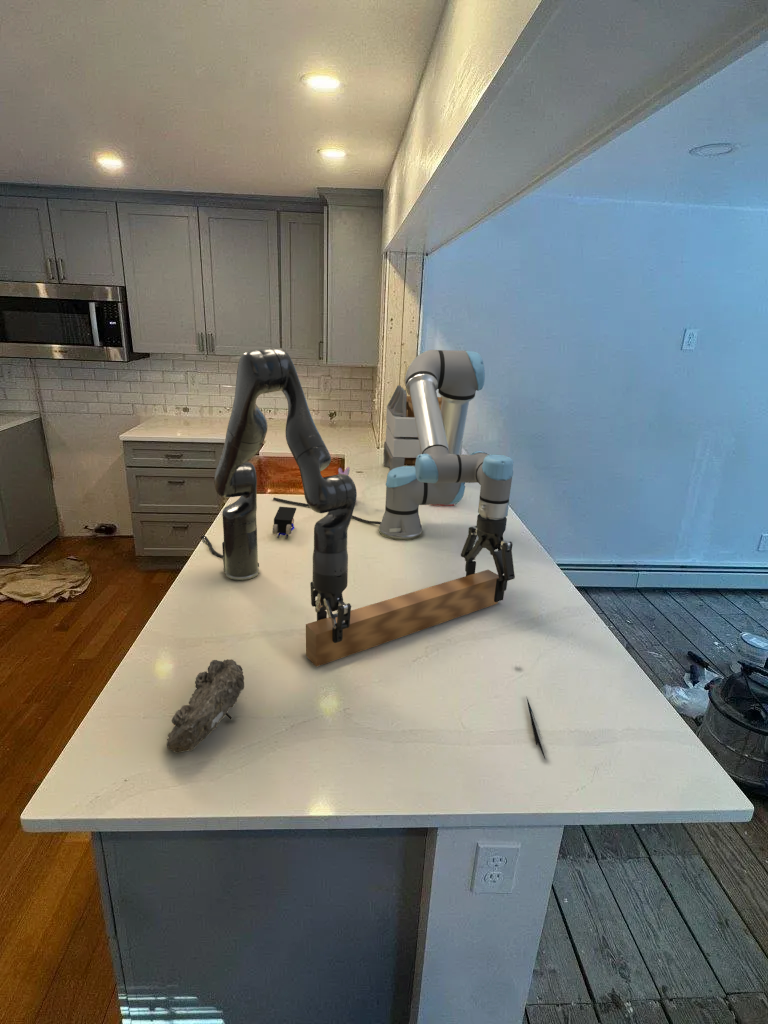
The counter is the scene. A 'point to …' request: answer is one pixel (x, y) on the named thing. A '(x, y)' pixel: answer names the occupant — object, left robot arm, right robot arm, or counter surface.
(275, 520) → the figurine character
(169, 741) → the fossil
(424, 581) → the counter surface
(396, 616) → the beam
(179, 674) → the counter surface
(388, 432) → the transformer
